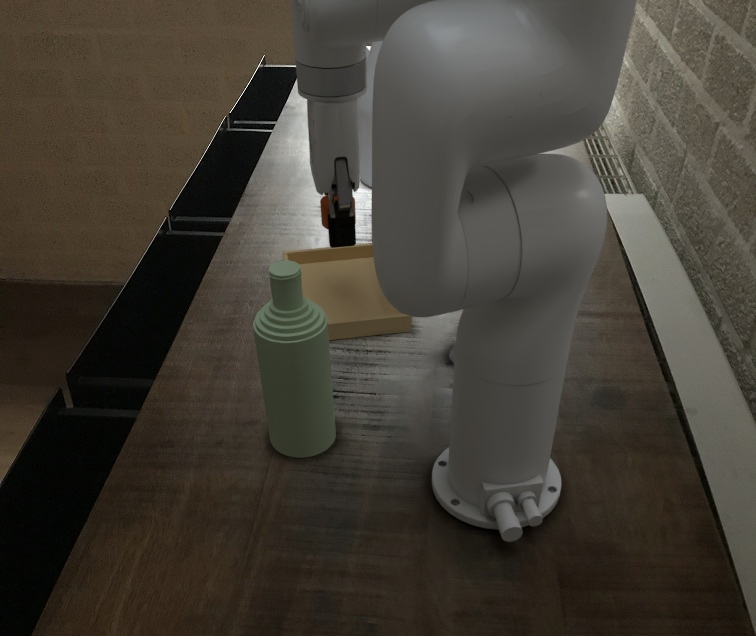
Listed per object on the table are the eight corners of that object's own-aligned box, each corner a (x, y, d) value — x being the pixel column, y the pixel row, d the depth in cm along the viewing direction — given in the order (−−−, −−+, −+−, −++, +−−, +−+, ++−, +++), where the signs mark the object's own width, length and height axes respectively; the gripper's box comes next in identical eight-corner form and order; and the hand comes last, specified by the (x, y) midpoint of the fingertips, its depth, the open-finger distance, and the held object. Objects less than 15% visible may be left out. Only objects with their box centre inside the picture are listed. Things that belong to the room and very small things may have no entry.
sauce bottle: (339, 453, 82) (328, 283, 69) (272, 461, 82) (246, 291, 68) (331, 411, 87) (319, 245, 73) (267, 419, 87) (243, 252, 73)
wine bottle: (427, 185, 128) (432, -37, 107) (371, 195, 125) (366, -29, 104) (403, 163, 134) (404, -50, 113) (351, 173, 132) (341, -43, 110)
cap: (321, 215, 98) (320, 193, 96) (355, 214, 99) (354, 192, 97) (321, 231, 96) (319, 209, 94) (356, 230, 96) (355, 208, 94)
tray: (411, 331, 98) (411, 315, 96) (296, 343, 97) (294, 327, 95) (385, 256, 112) (384, 241, 110) (284, 266, 110) (282, 251, 108)
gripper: (290, 54, 91) (303, 209, 104) (304, 106, 79) (317, 273, 92) (355, 49, 91) (360, 204, 105) (379, 101, 80) (381, 267, 93)
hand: (340, 235), depth 98 cm, fingers closed on cap, 4 cm apart
